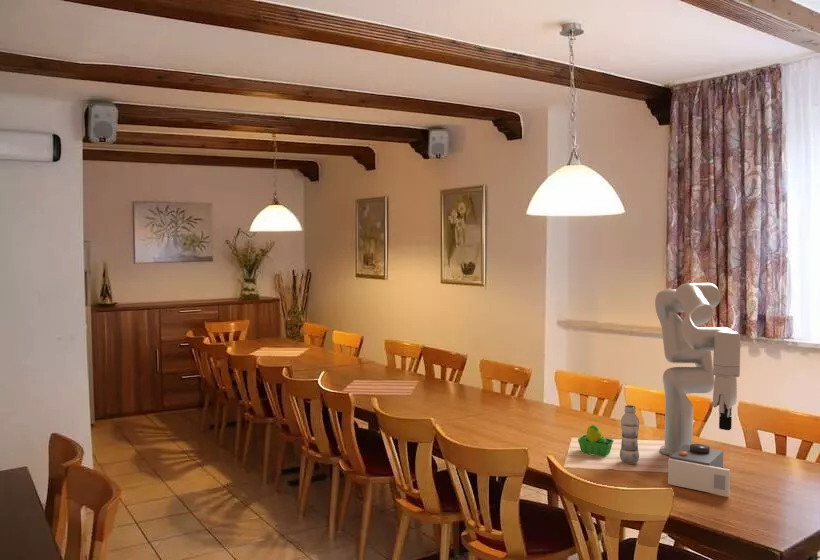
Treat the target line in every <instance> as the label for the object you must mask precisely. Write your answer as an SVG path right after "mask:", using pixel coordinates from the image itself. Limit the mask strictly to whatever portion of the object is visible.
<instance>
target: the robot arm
mask: <svg viewBox="0 0 820 560" xmlns="http://www.w3.org/2000/svg"><path fill="white" fill-rule="evenodd" d="M720 301H721V292H720V290H719V288H718V286H717V285H716V284H714V283H711V282H688V283H683V284H681V285H679V286H678V287H677V288H676V289H674V288H671V289H670V288H669V289H663V290H661V291H659V292H658V293H656V296H655V300H654V307H655V313H656V315H657V318H658V321H659V323H660V326H661V333H662V334H661V335H662V343H663V351H664V356H665V359H666V361H667V362H668V363H672V364H693V365H695V366H674V367H669V368H667V369H665V370H664V372H663V374H662V383H663V389H664V400H665V401H664V403H665V404H664V405H665V407H664V409H665V410H664V445H662V446H660V448H659V451H660V453H662V454H663V455H666V456H668V457H670V456H671V455H672V454H674V453H675V452H676V451H678V450H679V449H680V448H681V447H683V446H684V445H691V444H694V443H693V441H694V440H693V438H694V437H693V436H694V434H693V433H694V432H693V431H694V428H693V427H694V407H693V403H692V401H691V400H690V398H688V396H687V394H688V395H689V394H709V393H711V392H712V393H713V394H712V407H713V408H717V407H718V408H719V409H718V415H719V416H718V417H719V418H718V429H719V430H723V431H731V429H732V425H733V423H732V421H733V420H732V414H733V407H734V406H735V405H736V403H737V397H738V396H737V395H738V394H737V393H738V391H737V390H738V382H737V381H738V380H737V378H739V377H740V375H741V374H740V373H741V335H740V332H738V331H735V330H733V329H731V328H730V327H727V326H726V327H723V326H722V327H721V326H720V327H719V326H718V327H717V326H716V327H715V326H709V327H708V326H702V325H704V324H706V323H707V322H708V321H710V320H711V319H712V316H713V315H714V309H713V308H715V307H717V306H718V305H719V304H720ZM677 313H684V314H685V316H684V317H683V318H682V317H681V316H680V315H679V314H677ZM700 326H701V327H700ZM712 351H713V353H712ZM712 354H713V358H712ZM712 359H713V360H712Z"/></svg>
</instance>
